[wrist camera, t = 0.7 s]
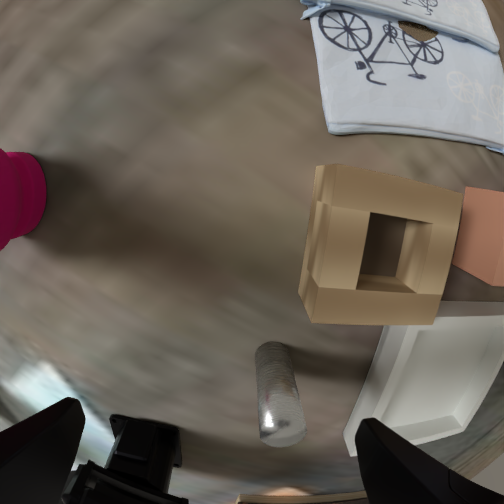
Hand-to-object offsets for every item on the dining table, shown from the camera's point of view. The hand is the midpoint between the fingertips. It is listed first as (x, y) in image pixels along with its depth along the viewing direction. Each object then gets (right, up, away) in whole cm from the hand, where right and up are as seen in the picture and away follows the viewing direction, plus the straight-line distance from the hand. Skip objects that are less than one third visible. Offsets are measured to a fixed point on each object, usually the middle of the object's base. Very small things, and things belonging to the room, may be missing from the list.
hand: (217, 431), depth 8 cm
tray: (+17, -5, +14) cm, 23 cm away
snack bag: (+13, +22, +7) cm, 27 cm away
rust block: (+20, +7, +11) cm, 23 cm away
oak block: (+8, +6, +11) cm, 15 cm away
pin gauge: (+2, -2, +13) cm, 13 cm away
